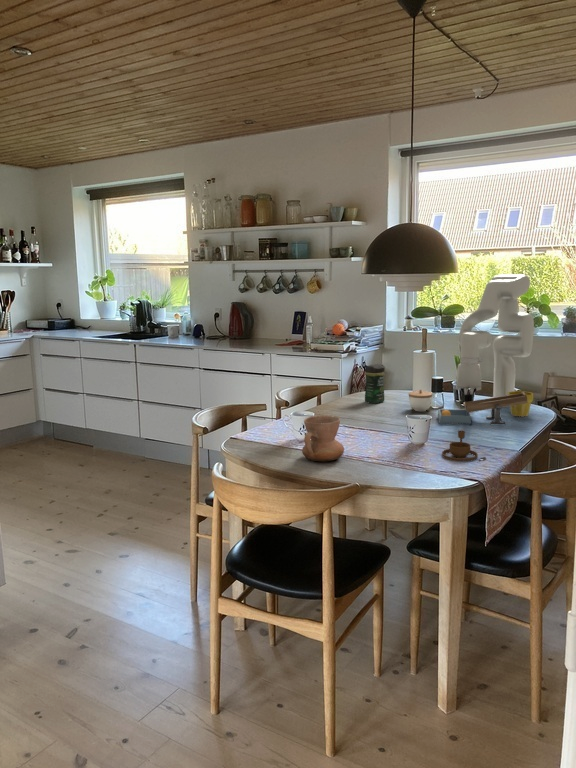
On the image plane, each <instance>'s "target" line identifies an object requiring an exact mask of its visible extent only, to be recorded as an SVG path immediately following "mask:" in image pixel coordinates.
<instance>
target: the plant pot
mask: <svg viewBox="0 0 576 768" xmlns="http://www.w3.org/2000/svg"><path fill="white" fill-rule="evenodd" d="M522 392H524V393H525V394H526V396H527V401H528V403H525V404H519V405H513V406H509V408H510V413H511V415H512V416H513V415H514V417H518V416H519V417H520V416H521V417H523V418H524V416H525V417H528V416H529V413H530V408H531V406H532V405H531V404H532V402H533V401H534V393H533V392H530V391H523V390H514V391H512V392H509V393H508V395H513V394H519V393H522Z"/></svg>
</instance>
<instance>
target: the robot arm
mask: <svg viewBox="0 0 576 768" xmlns="http://www.w3.org/2000/svg"><path fill="white" fill-rule="evenodd" d="M530 287H531V280H530V278H529V276H528V275H526V274H498V275H494V276H493V277H492V278H491V280H490V281H488V282H487V284H486V285H485V288H484V290H483V293H482V295H481V296H482V297H481V298H480V302H479V305H478V307H477V309H475V310H474V311H473V312H472V313H470V315H468V316H467V317H466V318H465V319H464V321H463V322H462V324H461V327H460V330H459V333H458V338H457V339H458V340H457V341H458V344H459V346H460V360H459V363H458V364H457V369H456V376H455V377H456V381H455V385H456V386H455V390H457V391H461V392H462V393H463V394H464V395H463V396H464V397H463V399H464V402H469V401H473V394H474V393H476V392H477V391H481V390H482V370H481V364H480V362H481V363H482V362H483V359H482V358H481V357H480V349H487V348H489V347H490V346H491V345H492V350H493V351H492V352H493V358H494V363H493V364H494V365H493V367H494V369H493V390H492V391H493V393H492V396H491V397H490V398H494V397H500V396H506V395H508V393H509V392H512V391H515V389H516V388H515V387H516V386H515V384H516V362H515V360H514V359H513V357H517V358H527V357H529V356H530V355H531V353H532V351H533V342H534V328H535V321H534V317H533V315H532V314H530V313H528V312H519V300H518V298H520V297H522V296H523V295H525V294H526V293H527V292H528V291H529V289H530ZM497 315H498V316H497ZM495 317H497V328H498V331H500V332H502V333H507V334H508V333H509V334H519V335H520V336H519V335H518V336H517V335H498V336H496V337H495V338H494V339H493V336H492V334H491V333H490V332H489V331H486V330H473V328H474V327H476V325H478V324H480V323H482V322H485V321H488V320H490V319H493V318H495ZM467 388H468V389H469V392H468V390H467Z"/></svg>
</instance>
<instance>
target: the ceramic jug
mask: <svg viewBox="0 0 576 768" xmlns="http://www.w3.org/2000/svg"><path fill="white" fill-rule="evenodd" d="M340 423H341V419H340V417H339V416H336V415H334V416H332V415H329V414H326V415H325V414H319V415H312V416H309V417H307V418H305V419H304V420H303V424H304V427H305V430H306V433H305V434H304V439H303V440H304V445H303V447H302V450H301V452H302V455H303V456H304V457H305V458H306V459H308V460H311V461H315V462H325V463H326V462H332V461H335V460H337V459H339V458H341V457H342V456H343V454H344V452H345V448H344V445H343V444H342V443H341V442H340V441H339V440H337V439H336V437H337V434H338V432H339V431H338V430H339V428H340Z"/></svg>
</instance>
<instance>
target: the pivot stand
mask: <svg viewBox="0 0 576 768" xmlns="http://www.w3.org/2000/svg"><path fill="white" fill-rule="evenodd" d="M501 408H502V407H501V405H495V408H494V409H490V412H491V413H490V414H491V415H486V416H485V419H486V420H494V421H489V425H491V424H505V425H506V422H505V421H501V420H502V416H501V411H502V409H501Z"/></svg>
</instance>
